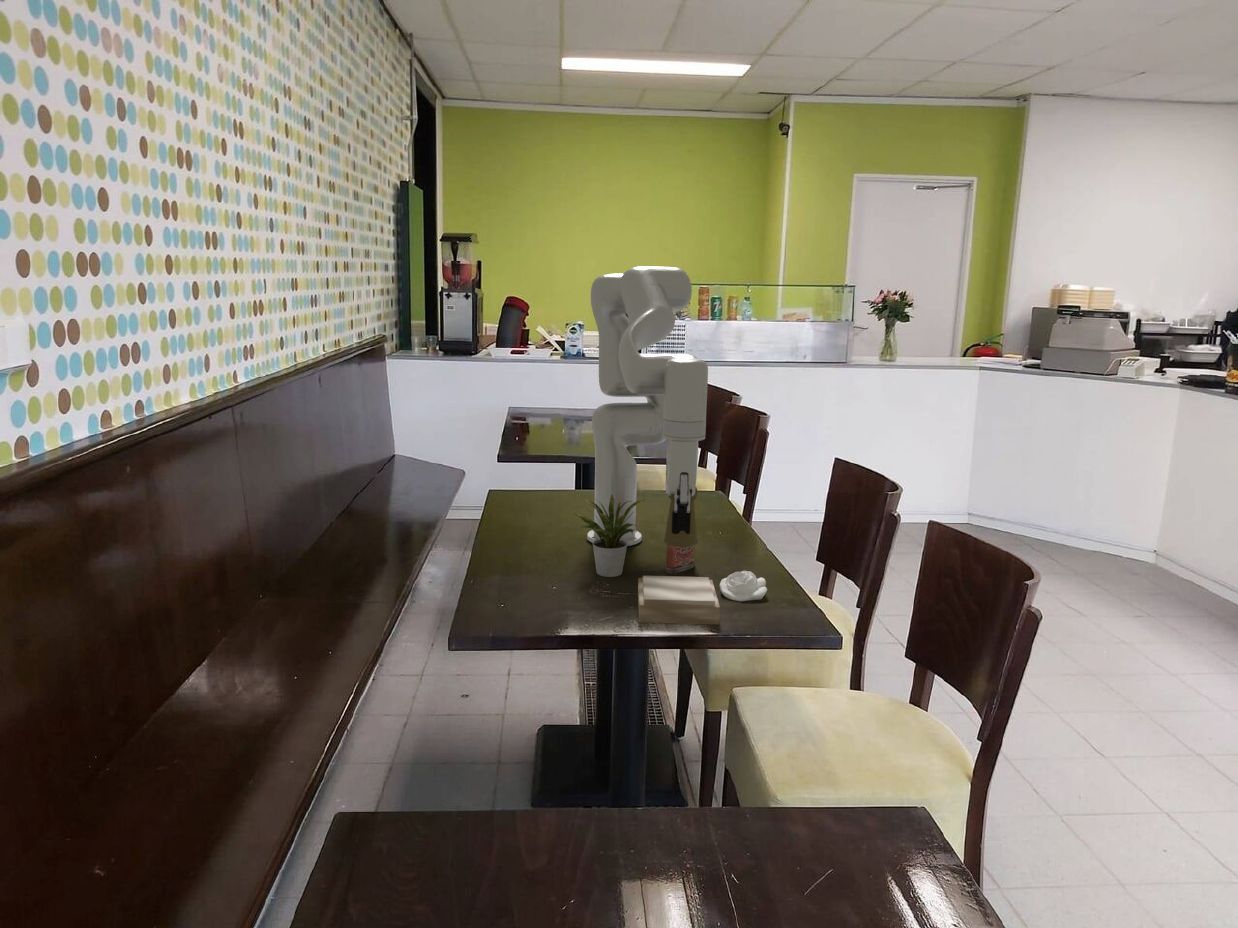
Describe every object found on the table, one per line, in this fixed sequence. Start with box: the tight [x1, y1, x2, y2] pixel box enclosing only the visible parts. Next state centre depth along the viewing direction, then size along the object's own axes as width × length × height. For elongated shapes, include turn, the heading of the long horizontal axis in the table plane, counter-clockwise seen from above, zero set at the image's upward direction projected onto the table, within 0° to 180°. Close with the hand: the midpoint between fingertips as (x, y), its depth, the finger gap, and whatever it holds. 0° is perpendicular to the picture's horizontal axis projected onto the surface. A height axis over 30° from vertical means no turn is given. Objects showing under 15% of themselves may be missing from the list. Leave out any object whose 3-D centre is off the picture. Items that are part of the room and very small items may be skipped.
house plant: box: [573, 495, 648, 578], centre depth 175 cm, size 14×14×16 cm
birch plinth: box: [637, 575, 721, 625], centre depth 157 cm, size 14×14×4 cm
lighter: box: [664, 544, 696, 574], centre depth 179 cm, size 8×3×10 cm, turn 135°
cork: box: [663, 487, 698, 547], centre depth 154 cm, size 6×6×11 cm
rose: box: [719, 570, 768, 602], centre depth 166 cm, size 10×4×10 cm
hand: (680, 529), depth 154 cm, fingers closed on cork, 3 cm apart
